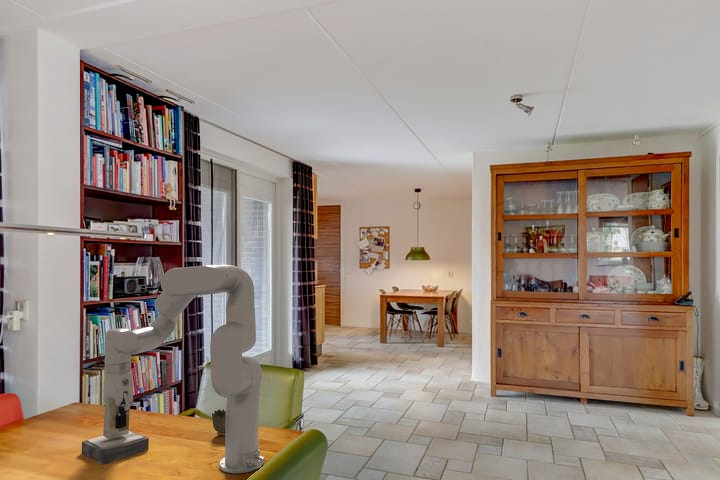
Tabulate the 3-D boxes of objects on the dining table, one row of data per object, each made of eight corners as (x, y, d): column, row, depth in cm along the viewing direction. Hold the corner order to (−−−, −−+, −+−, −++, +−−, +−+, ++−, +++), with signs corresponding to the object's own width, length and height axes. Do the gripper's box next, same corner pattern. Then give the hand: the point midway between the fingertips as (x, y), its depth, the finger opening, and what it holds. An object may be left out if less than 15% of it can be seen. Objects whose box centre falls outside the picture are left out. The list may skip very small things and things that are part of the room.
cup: (227, 440, 159) (227, 416, 160) (207, 438, 161) (207, 414, 161) (237, 432, 167) (237, 409, 167) (218, 430, 168) (218, 408, 169)
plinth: (148, 449, 151) (148, 436, 151) (103, 464, 140) (104, 450, 140) (125, 439, 159) (125, 427, 160) (81, 453, 148) (82, 440, 148)
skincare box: (109, 439, 146) (110, 399, 147) (102, 436, 149) (103, 397, 149) (129, 433, 151) (130, 395, 152) (123, 430, 154) (124, 392, 154)
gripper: (143, 369, 149) (142, 427, 148) (116, 362, 159) (114, 417, 158) (119, 373, 143) (118, 435, 142) (92, 366, 153) (91, 423, 152)
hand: (116, 425), depth 150 cm, fingers open, 4 cm apart
